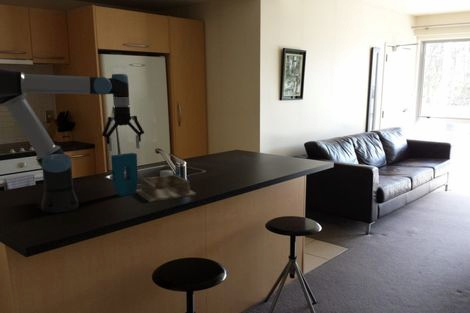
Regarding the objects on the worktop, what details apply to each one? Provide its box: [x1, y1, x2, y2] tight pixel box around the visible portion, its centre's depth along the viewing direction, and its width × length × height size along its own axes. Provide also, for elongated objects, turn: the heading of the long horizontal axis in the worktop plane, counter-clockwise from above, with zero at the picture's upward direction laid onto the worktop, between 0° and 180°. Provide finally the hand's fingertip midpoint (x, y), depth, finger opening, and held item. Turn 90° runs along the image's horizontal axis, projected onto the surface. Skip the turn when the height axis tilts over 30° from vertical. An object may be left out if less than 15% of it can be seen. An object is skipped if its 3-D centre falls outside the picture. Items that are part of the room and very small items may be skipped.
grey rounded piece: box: [159, 169, 174, 177], centre depth 218 cm, size 7×7×8 cm
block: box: [110, 152, 139, 197], centre depth 200 cm, size 12×5×20 cm, turn 133°
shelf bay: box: [135, 174, 197, 203], centre depth 201 cm, size 24×22×7 cm
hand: (124, 149), depth 198 cm, fingers open, 13 cm apart
